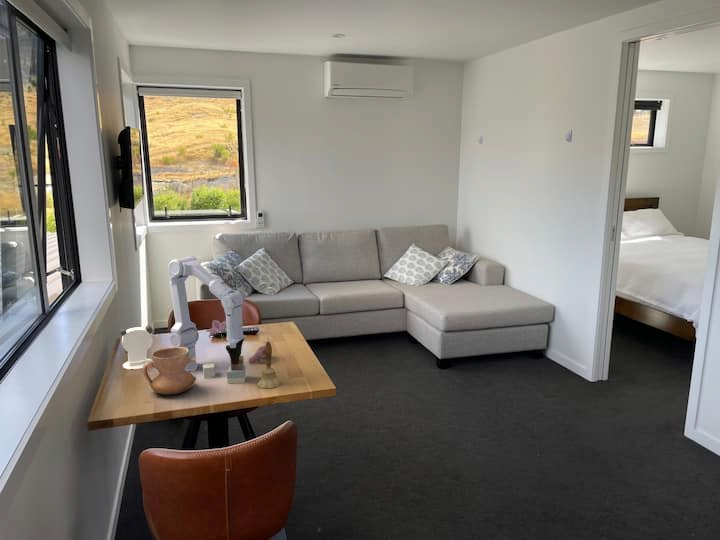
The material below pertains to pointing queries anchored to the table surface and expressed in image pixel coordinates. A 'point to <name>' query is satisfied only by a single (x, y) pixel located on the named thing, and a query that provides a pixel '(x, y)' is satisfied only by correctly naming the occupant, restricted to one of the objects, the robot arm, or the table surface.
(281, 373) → the table surface
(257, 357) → the video game controller
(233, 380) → the tower base
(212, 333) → the lily
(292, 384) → the table surface
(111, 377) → the table surface
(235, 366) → the walnut cube
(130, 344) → the panda figurine
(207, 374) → the cream cube
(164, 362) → the ceramic jug
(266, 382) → the hand bell
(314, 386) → the table surface
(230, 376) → the tower top
